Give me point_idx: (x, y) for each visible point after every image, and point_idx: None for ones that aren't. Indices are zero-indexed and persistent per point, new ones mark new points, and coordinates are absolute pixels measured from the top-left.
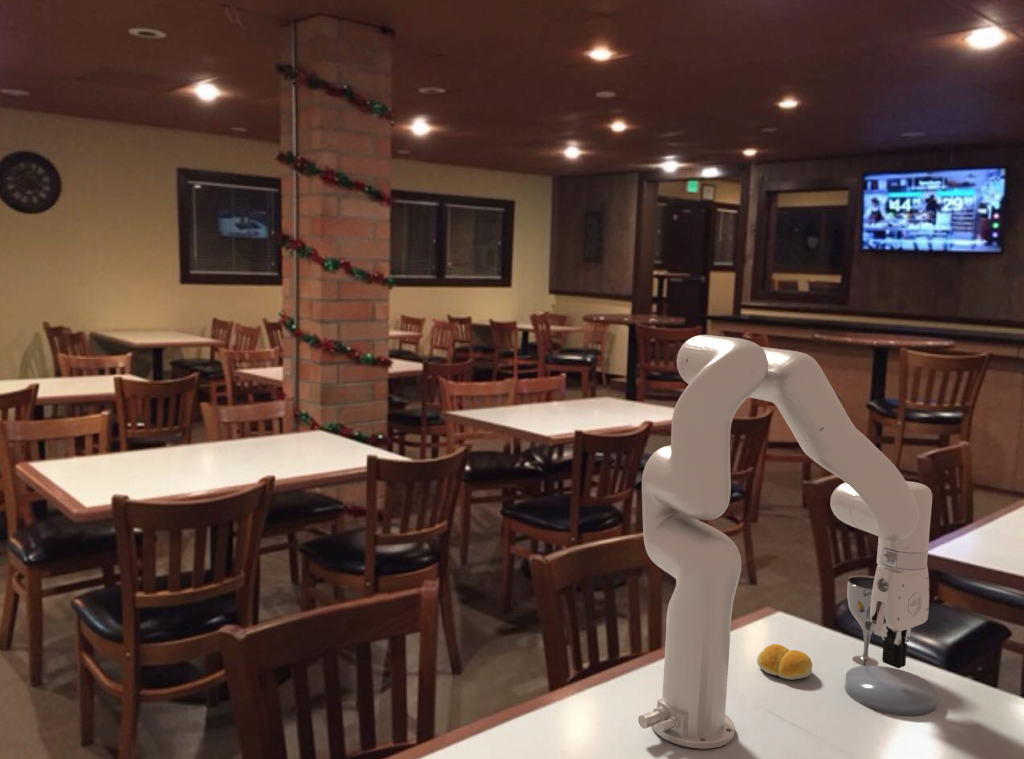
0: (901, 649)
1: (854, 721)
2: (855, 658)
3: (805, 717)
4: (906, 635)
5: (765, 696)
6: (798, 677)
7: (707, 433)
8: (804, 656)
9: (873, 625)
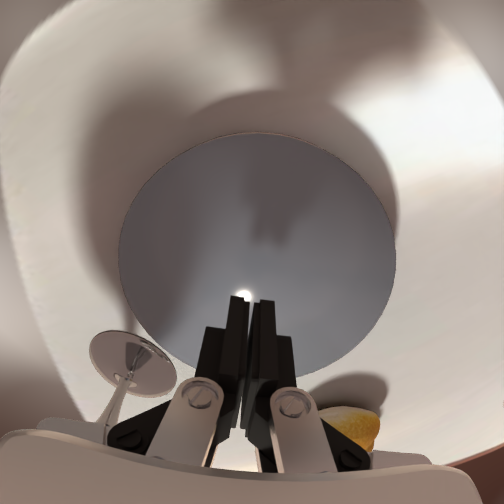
0: (275, 362)
1: (468, 257)
2: (145, 386)
3: (492, 321)
4: (211, 418)
5: (446, 391)
6: (363, 409)
7: None
8: None
9: None
